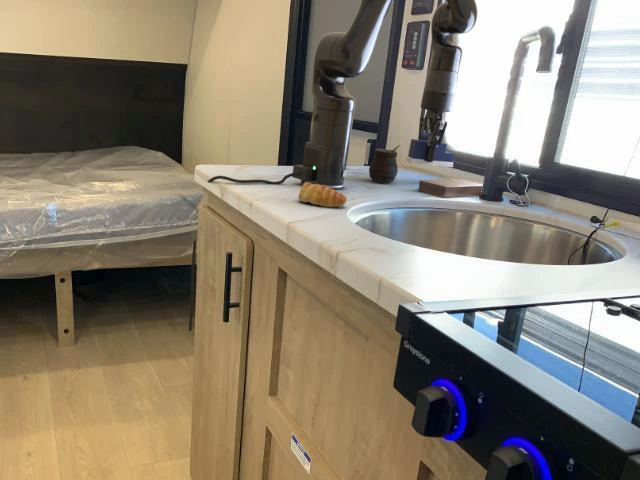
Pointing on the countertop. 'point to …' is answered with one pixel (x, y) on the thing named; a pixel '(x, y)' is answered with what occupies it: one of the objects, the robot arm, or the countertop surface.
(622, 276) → the countertop surface
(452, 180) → the shelf board
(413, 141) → the navy stepped block
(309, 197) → the pastry
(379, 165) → the mate gourd
